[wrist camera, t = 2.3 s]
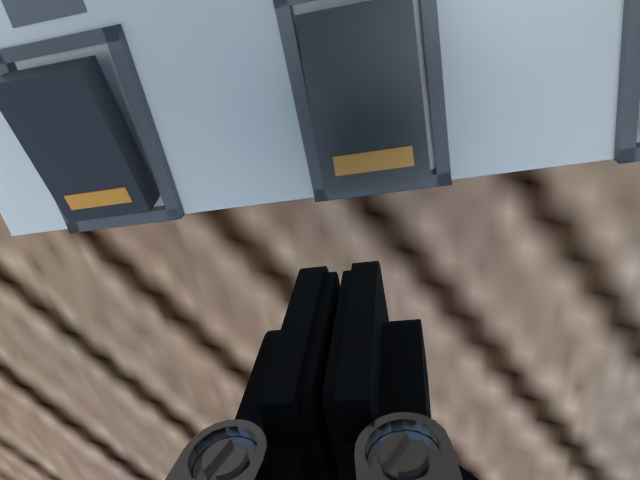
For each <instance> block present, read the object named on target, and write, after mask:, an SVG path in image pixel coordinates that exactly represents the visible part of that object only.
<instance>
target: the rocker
mask: <svg viewBox="0 0 640 480" xmlns="http://www.w3.org/2000/svg"><path fill="white" fill-rule="evenodd" d="M0 111H1V113H2V115H3V116H4V118H5V120H6V121H7V123H8V124H9V126H10V128H11V129H12V131H13V133H14V134H15V136H16V138H17V139H18V141H19V142H20V144H21V146H22V147H23V149H24V151H25V152H26V154H27V155H28V157H29V159H30V160H31V162H32V164H33V165H34V167H35V169H36V170H37V172H38V173H39V175H40V177H41V178H42V180H43V182H44V183H45V185H46V186H47V188H48V190H49V191H50V193H51V195H52V196H53V198H54V200H55V201H56V203H57V204H58V206H59V208H60V209H61V211H62V213H63V214H64V216H65V218H66V219H67V221H68V222H76V221H84V220H92V219H99V218H107V217H115V216H122V215H130V214H138V213H145V212H151V210H152V209H153V207H154V205H155V204H156V202H157V200H158V198H159V197H160V194H159V192H158V190H157V187H156V185H155V183H154V181H153V179H152V177H151V174H150V172H149V170H148V168H147V166H146V164H145V162H144V159H143V157H142V155H141V153H140V151H139V149H138V147H137V144H136V142H135V140H134V138H133V136H132V134H131V132H130V129H129V127H128V125H127V123H126V121H125V119H124V117H123V114H122V112H121V110H120V108H119V106H118V104H117V101H116V99H115V97H114V95H113V93H112V91H111V89H110V86H109V84H108V82H107V80H106V78H105V76H104V74H103V71H102V69H101V67H100V65H99V63H98V61H97V59H96V56H95V55H93V56H88V57H83V58H78V59H73V60H68V61H63V62H58V63H53V64H48V65H43V66H38V67H33V68H28V69H23V70H18V71H13V72H8V73H4V74H2V75H1V76H0Z"/></svg>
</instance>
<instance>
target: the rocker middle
mask: <svg viewBox="0 0 640 480" xmlns="http://www.w3.org/2000/svg"><path fill="white" fill-rule="evenodd" d="M295 21H296V27H297V33H298V39H299V45H300V51H301V57H302V63H303V69H304V75H305V81H306V87H307V93H308V99H309V105H310V111H311V117H312V123H313V129H314V135H315V141H316V147H317V153H318V159H319V165H320V171H321V177H322V183H323V189H324V194H331V193H339V192H347V191H355V190H362V189H370V188H378V187H386V186H393V185H401V184H409V183H417V182H425V181H431V171H430V161H429V152H428V142H427V133H426V123H425V114H424V104H423V95H422V85H421V76H420V66H419V56H418V47H417V37H416V28H415V18H414V9H413V0H369V1H364V2H359V3H354V4H349V5H344V6H339V7H334V8H329V9H324V10H319V11H314V12H309V13H304V14H299V15H295Z"/></svg>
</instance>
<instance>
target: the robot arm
mask: <svg viewBox="0 0 640 480" xmlns="http://www.w3.org/2000/svg"><path fill="white" fill-rule="evenodd" d="M165 480H479V479H477V478H476V477H474V476H473V475H472V474H470V473H469V472H468V471H466V470H465V469H463V468H462V467H461V466H459V465H458V463H457V459H456V456H455V453H454V450H453V446H452V443H451V440H450V438H449V437H448V435H447V433H446V431H445V429H444V428H442V427H441V426H440V425H439V424H438V423H437V422H436V421H435V420H433V419H431V411H430V398H429V386H428V375H427V365H426V356H425V348H424V340H423V332H422V325H421V319H416V320H403V321H390V322H389V319H388V313H387V306H386V300H385V294H384V288H383V281H382V275H381V269H380V264H379V261H372V262H362V263H353V264H352V269H351V270H350V271H343V275H342V281H341V287H340V283H339V278H338V274H337V272H329V271H328V269H327V267H326V266H322V267H313V268H303V269H300V271H299V274H298V277H297V280H296V283H295V286H294V289H293V293H292V296H291V299H290V302H289V305H288V309H287V312H286V315H285V318H284V321H283V324H282V328H281V330H274V331H268V332H267V333H266V334H265V336H264V339H263V341H262V344H261V347H260V350H259V353H258V356H257V358H256V361H255V364H254V367H253V370H252V373H251V375H250V378H249V381H248V384H247V387H246V390H245V392H244V395H243V398H242V401H241V404H240V407H239V409H238V412H237V415H236V418H235V420H226V421H222V422H219V423H215V424H213V425H211V426H209V427H208V428H206V429H204V430H202V431H201V432H200V433H198V434H197V435H196V436H195V437H194V438H192V439H191V441H190V442H189V443H188V444H187V446H186V447H185V448H184V449H183V451H182V453H181V454H180V456H179V458H178V459H177V461H176V463H175V464H174V466H173V468H172V469H171V471H170V473H169V474H168V476H167V478H166V479H165Z"/></svg>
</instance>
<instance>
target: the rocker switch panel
mask: <svg viewBox="0 0 640 480" xmlns="http://www.w3.org/2000/svg"><path fill="white" fill-rule="evenodd" d="M364 1H369V0H0V76H1V75H2V74H4V73H8V72H13V71H18V70H23V69H28V68H33V67H38V66H43V65H48V64H53V63H58V62H63V61H68V60H73V59H78V58H83V57H88V56H93V55H95V56H96V59H97V61H98V63H99V65H100V67H101V69H102V71H103V74H104V76H105V78H106V80H107V82H108V84H109V86H110V89H111V91H112V93H113V95H114V97H115V99H116V101H117V104H118V106H119V108H120V110H121V112H122V114H123V117H124V119H125V121H126V123H127V125H128V127H129V129H130V132H131V134H132V136H133V138H134V140H135V142H136V144H137V147H138V149H139V151H140V153H141V155H142V157H143V159H144V162H145V164H146V166H147V168H148V170H149V172H150V174H151V177H152V179H153V181H154V183H155V185H156V187H157V190H158V192H159V194H160V197H159V198H158V200H157V202H156V204H155V205H154V207H153V209H152V210H151V212H145V213H138V214H130V215H122V216H115V217H107V218H99V219H92V220H84V221H76V222H68V221H67V219H66V218H65V216H64V214H63V213H62V211H61V209H60V208H59V206H58V204H57V203H56V201H55V200H54V198H53V196H52V195H51V193H50V191H49V190H48V188H47V186H46V185H45V183H44V182H43V180H42V178H41V177H40V175H39V173H38V172H37V170H36V169H35V167H34V165H33V164H32V162H31V160H30V159H29V157H28V155H27V154H26V152H25V151H24V149H23V147H22V146H21V144H20V142H19V141H18V139H17V138H16V136H15V134H14V133H13V131H12V129H11V128H10V126H9V124H8V123H7V121H6V120H5V118H4V116H3V115H2V113H1V111H0V213H1V215H2V217H3V219H4V221H5V223H6V225H7V227H8V229H9V231H10V233H11V235H12V236H16V235H24V234H32V233H39V232H47V231H55V230H63V229H68V230H69V232H70V233H74V232H82V231H90V230H98V229H106V228H114V227H122V226H130V225H138V224H146V223H154V222H161V221H169V220H177V219H181V218H182V217H183V216H184V215H185V214H188V213H196V212H203V211H211V210H219V209H227V208H235V207H242V206H250V205H258V204H266V203H274V202H281V201H289V200H297V199H305V198H313V197H314V198H315V202H320V201H328V200H336V199H344V198H352V197H360V196H368V195H375V194H383V193H391V192H399V191H407V190H415V189H423V188H431V187H439V186H447V185H452V181H451V180H453V179H461V178H469V177H477V176H484V175H492V174H500V173H508V172H516V171H523V170H531V169H539V168H547V167H555V166H562V165H570V164H578V163H586V162H594V161H601V160H609V159H614V160H615V161H616V162H618V163H619V164H621V163H629V162H637V161H640V0H413V9H414V18H415V28H416V37H417V47H418V56H419V66H420V76H421V85H422V95H423V104H424V114H425V123H426V133H427V142H428V152H429V161H430V171H431V181H425V182H417V183H409V184H401V185H393V186H386V187H378V188H370V189H362V190H355V191H347V192H339V193H331V194H324V189H323V183H322V177H321V171H320V165H319V159H318V153H317V147H316V141H315V135H314V129H313V123H312V117H311V111H310V105H309V99H308V93H307V87H306V81H305V75H304V69H303V63H302V57H301V51H300V45H299V39H298V33H297V27H296V21H295V15H299V14H304V13H309V12H314V11H319V10H324V9H329V8H334V7H339V6H344V5H349V4H354V3H359V2H364Z"/></svg>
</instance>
